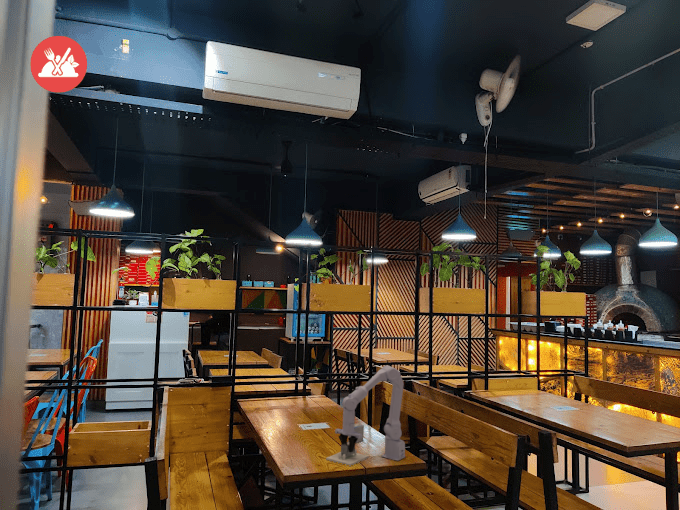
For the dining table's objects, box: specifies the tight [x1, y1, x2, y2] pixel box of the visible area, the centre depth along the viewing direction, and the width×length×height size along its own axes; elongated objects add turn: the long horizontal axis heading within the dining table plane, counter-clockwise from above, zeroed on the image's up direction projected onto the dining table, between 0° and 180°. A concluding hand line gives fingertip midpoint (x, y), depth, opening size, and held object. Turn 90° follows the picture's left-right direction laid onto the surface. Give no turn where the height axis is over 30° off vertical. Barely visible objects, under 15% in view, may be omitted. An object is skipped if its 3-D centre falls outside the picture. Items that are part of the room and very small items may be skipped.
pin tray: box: [325, 448, 370, 467], centre depth 242 cm, size 14×16×4 cm
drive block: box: [340, 441, 356, 457], centre depth 242 cm, size 4×7×5 cm, turn 145°
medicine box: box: [347, 423, 365, 444], centre depth 272 cm, size 8×4×9 cm, turn 141°
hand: (347, 451), depth 242 cm, fingers closed on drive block, 3 cm apart
